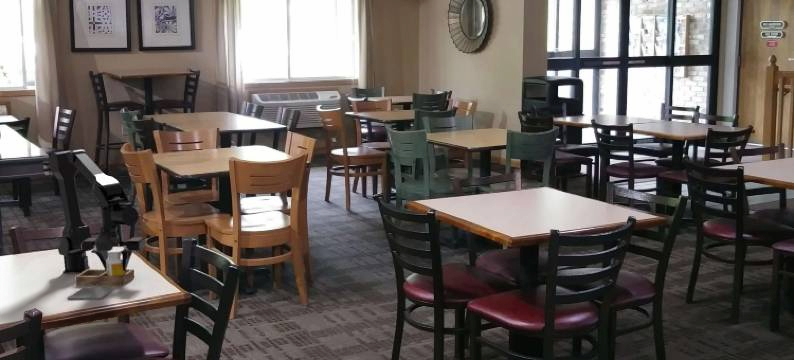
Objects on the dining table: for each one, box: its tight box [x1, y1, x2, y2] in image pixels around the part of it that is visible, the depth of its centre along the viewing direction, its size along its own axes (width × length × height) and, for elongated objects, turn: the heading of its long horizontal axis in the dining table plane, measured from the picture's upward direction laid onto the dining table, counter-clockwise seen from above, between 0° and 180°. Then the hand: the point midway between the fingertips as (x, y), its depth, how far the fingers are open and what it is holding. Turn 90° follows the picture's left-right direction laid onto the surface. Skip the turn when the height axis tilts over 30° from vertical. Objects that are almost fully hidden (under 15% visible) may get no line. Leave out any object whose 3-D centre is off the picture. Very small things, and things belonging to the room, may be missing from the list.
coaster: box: [67, 286, 116, 301], centre depth 258 cm, size 10×10×1 cm
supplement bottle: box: [106, 249, 125, 276], centre depth 269 cm, size 5×5×10 cm
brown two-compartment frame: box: [75, 268, 135, 286], centre depth 270 cm, size 15×8×3 cm, turn 84°
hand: (115, 270), depth 270 cm, fingers closed on supplement bottle, 5 cm apart
